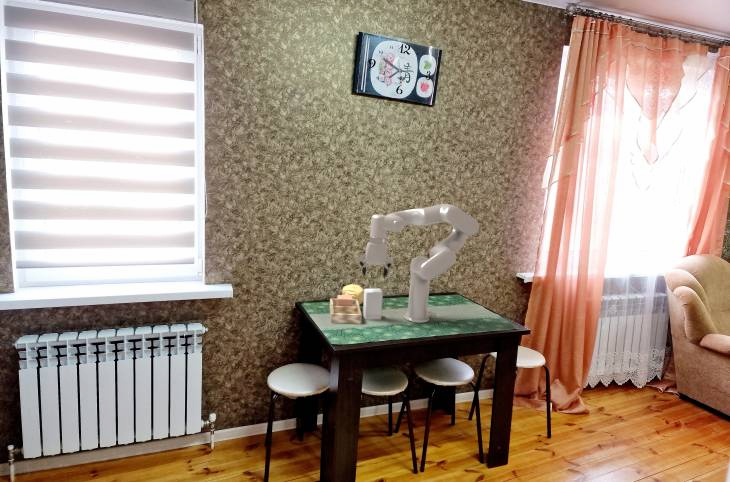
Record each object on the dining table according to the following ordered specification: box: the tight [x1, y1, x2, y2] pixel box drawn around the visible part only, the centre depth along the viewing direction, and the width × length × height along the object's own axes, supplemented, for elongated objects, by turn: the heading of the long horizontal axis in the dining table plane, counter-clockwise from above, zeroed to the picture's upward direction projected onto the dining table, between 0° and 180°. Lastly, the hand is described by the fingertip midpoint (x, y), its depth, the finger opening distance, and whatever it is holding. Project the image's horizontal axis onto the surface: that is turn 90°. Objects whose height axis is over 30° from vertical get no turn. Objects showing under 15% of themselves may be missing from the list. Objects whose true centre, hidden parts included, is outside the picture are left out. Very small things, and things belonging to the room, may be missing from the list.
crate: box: [329, 297, 363, 325], centre depth 230 cm, size 14×24×5 cm, turn 6°
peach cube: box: [336, 294, 352, 307], centre depth 235 cm, size 7×7×7 cm
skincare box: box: [362, 288, 384, 321], centre depth 227 cm, size 8×6×15 cm
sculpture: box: [341, 283, 365, 306], centre depth 249 cm, size 12×12×11 cm
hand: (374, 275), depth 225 cm, fingers open, 9 cm apart
